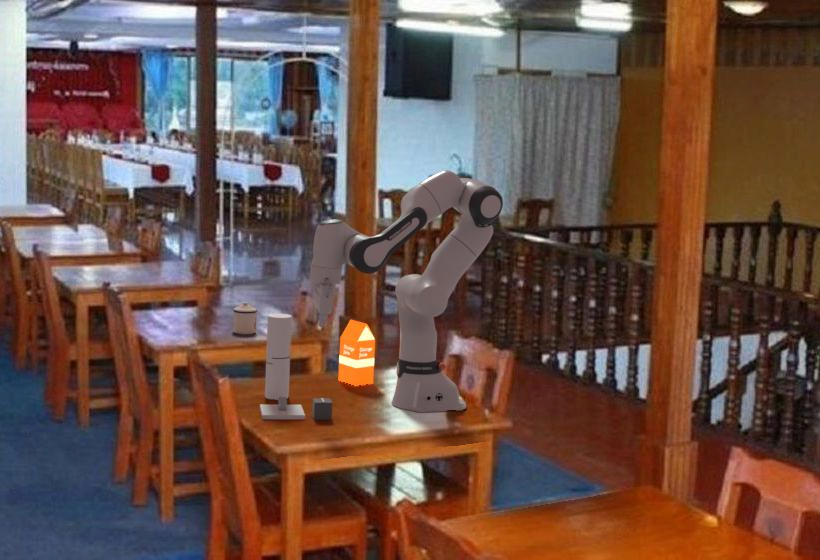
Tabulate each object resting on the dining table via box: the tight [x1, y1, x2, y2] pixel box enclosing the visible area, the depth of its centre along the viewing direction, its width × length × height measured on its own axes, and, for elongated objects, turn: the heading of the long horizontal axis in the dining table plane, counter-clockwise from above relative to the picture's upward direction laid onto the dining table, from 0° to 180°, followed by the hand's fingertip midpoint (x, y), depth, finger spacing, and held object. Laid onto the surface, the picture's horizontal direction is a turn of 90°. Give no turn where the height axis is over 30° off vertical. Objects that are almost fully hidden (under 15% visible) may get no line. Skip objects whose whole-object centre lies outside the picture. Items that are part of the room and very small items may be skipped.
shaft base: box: [259, 397, 306, 420], centre depth 345 cm, size 12×12×5 cm
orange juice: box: [337, 319, 376, 387], centre depth 388 cm, size 8×9×20 cm
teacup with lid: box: [232, 301, 258, 335], centre depth 463 cm, size 12×9×12 cm
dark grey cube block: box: [311, 397, 333, 421], centre depth 343 cm, size 5×5×5 cm
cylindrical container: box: [264, 313, 292, 401], centre depth 363 cm, size 7×7×25 cm
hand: (320, 323), depth 344 cm, fingers open, 8 cm apart
